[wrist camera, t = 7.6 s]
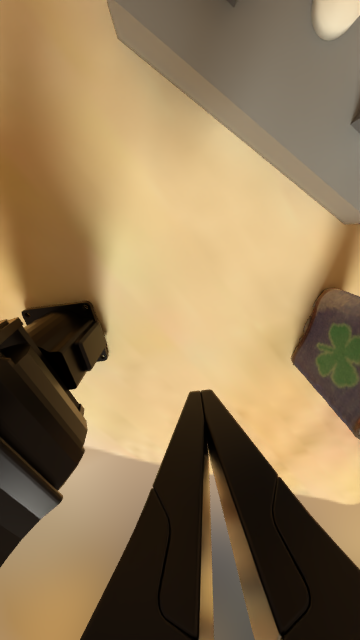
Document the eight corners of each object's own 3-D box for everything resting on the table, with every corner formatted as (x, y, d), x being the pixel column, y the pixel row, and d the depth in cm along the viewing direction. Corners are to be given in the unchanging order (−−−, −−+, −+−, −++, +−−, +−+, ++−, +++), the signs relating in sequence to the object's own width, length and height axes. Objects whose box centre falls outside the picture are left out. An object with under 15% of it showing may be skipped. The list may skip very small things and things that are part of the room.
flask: (321, 285, 18) (488, 347, 9) (349, 289, 19) (544, 354, 9) (286, 364, 22) (374, 470, 12) (310, 367, 22) (416, 473, 13)
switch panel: (117, 38, 12) (84, -75, 7) (185, -191, 9) (196, -587, 5) (344, 224, 16) (406, 221, 12) (437, 111, 13) (560, 55, 9)
